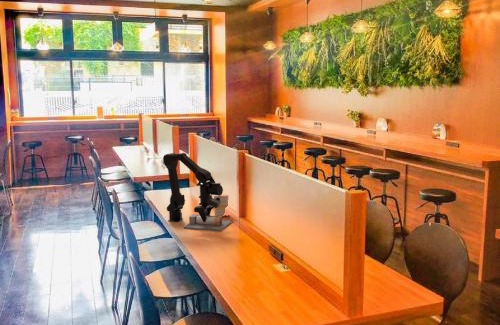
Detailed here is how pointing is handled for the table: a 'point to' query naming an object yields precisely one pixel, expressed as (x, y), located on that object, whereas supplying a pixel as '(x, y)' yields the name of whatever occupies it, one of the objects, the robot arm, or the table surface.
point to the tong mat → (205, 225)
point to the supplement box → (221, 204)
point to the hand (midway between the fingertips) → (206, 220)
